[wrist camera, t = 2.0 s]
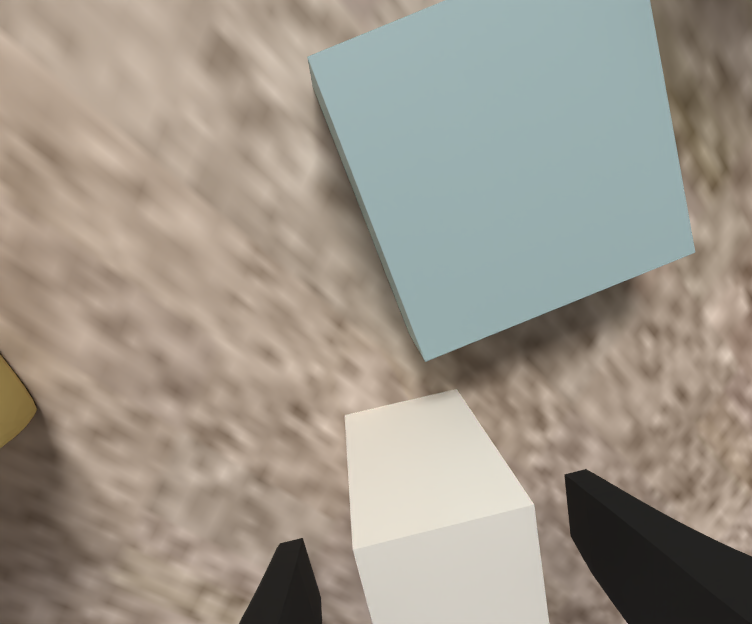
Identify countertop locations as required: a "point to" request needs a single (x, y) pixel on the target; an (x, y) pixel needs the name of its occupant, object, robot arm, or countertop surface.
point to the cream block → (440, 518)
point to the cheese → (13, 404)
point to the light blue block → (507, 157)
